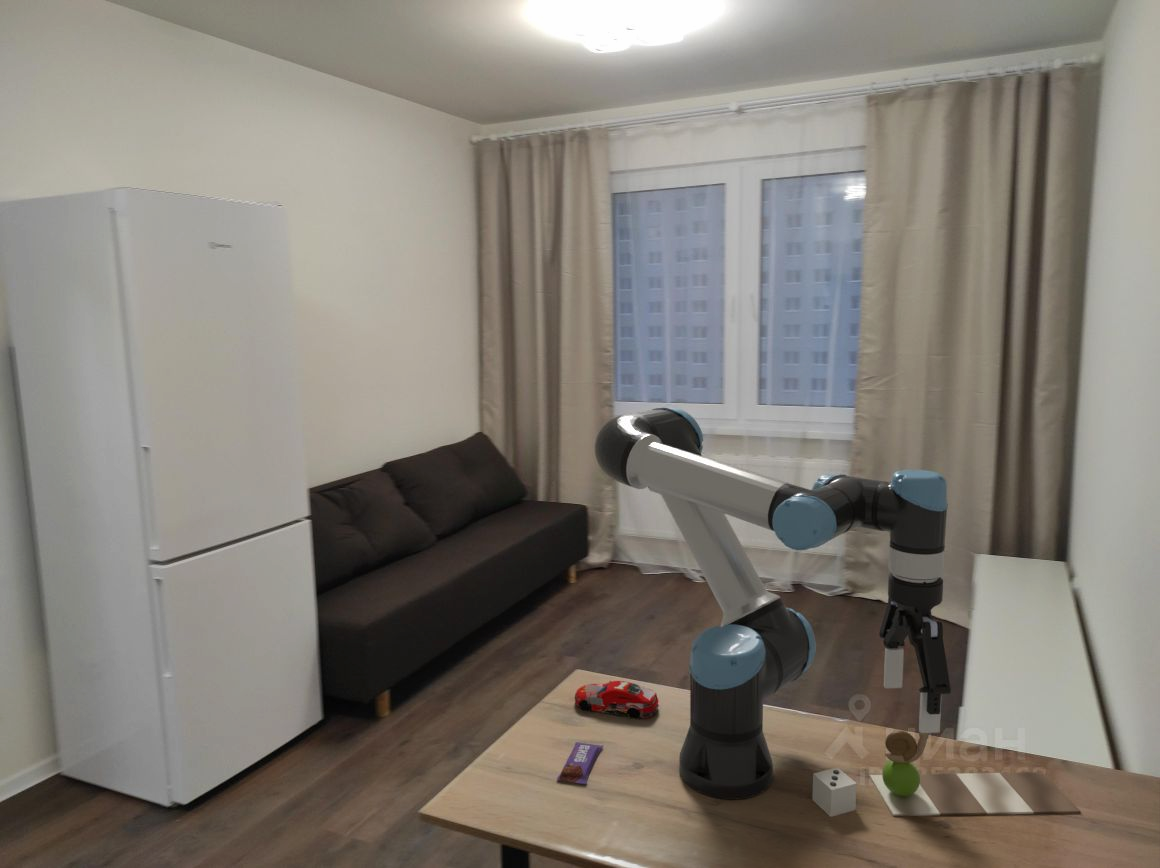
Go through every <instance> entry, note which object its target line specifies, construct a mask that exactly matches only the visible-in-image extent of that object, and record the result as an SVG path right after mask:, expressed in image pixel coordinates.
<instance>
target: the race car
mask: <svg viewBox="0 0 1160 868" xmlns="http://www.w3.org/2000/svg"><path fill="white" fill-rule="evenodd" d="M574 702H575V705H576V706H577V707H578V708H580V710H581V711H583V712H590V711H592V712H599V713H604V714H612V715H618V716H622V717H627V716H628V717H629V718H630V719H635V720H638V719H639V718H640V719H645V718H650V717H653V716H654V715H655V714H656V713H657V710H658V709H659V708H658V707H660V705H659V698H658V696H657V692H656V691H655V690H653V689H650V688H647V687H645V686H644V685H640V684H637V683H633V682H629V681H624V680H613V681H612V680H609V681H608V682H606V683H590V684H588V683H587V684H585V685H583V686H580V687H579V688H578V689H577V690H576V692H575V695H574Z"/></svg>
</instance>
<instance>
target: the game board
mask: <svg viewBox="0 0 1160 868" xmlns="http://www.w3.org/2000/svg"><path fill="white" fill-rule="evenodd" d="M919 776H920V784H919V787H918V789H917V790H916V792H915V793H913V794H912V795H909V796H898V795H896V794H894V793H892V792H891V791H890V790H889V789H888V788H887V787H886V785H885V784H884V781H883V777H882V774H869V779H870V780H871V782H872V784H873V785H874V787H875V788H876V790H877V791H878V793H879V795H880V796H881V798H882V799H883V802H884V803H885V805H886V807H887V808H888V809H889V811H890V813H891V814H892V816H893V817H912V816H913V817H914V816H916V817H919V816H969V815H975V816H977V815H1018V814H1019V815H1024V814H1025V815H1028V814H1029V815H1030V814H1031V815H1033V814H1035V815H1036V814H1041V815H1042V814H1043V815H1044V814H1080V813H1081V810H1080V809H1079V807H1077V805H1076V804H1075V803H1073V802H1072V800H1070V799H1069V798H1068V796H1066V794H1064V792H1062V790H1061V789H1059V788H1058V786H1057V785H1056V784H1055V783H1053V782H1054V781H1052V780H1051V779H1050V778H1049V777H1048V776H1047V775H1046V774H1045V773H1044V772H1043V771H1041V772H1039V771H1036V772H1033V771H1032V772H977V773H976V772H974V773H973V772H971V773H919Z"/></svg>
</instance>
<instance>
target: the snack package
mask: <svg viewBox="0 0 1160 868" xmlns="http://www.w3.org/2000/svg"><path fill="white" fill-rule="evenodd" d="M603 747H604V745H598V744H592V743H586V742H585V743H584V742H575V743H574V747H573V748H572V750H571V753H570V754H569V756H568V758H567V760H566V762H565V763H564V766H563V767H562V770H561V772H560V774H559V775H558V776H557V778H556V780H557V781H562V782H570V783H576V784H581V785H586V784H587V783H588V778H589V775H590V773H591V771H592V769H593V766H594V764H595V762H596V760H597V758H598V756H599V754H600V751H602V749H603Z"/></svg>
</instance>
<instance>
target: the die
mask: <svg viewBox="0 0 1160 868" xmlns="http://www.w3.org/2000/svg"><path fill="white" fill-rule="evenodd" d="M812 776H813V777H812V797H811V800H812V801H813V802H814V803H816V805H818V807H820V809H822V810H823V811H824V812H825V813H826V814H827V815H828V816H829V817H830V818H833V817H835V816H838V815H843V814H846V813H849V812H854V811H856V808H857V807H856V804H857V803H856V802H857V782H856V781H854V779H852V778H851V777H850V776H849V775H848V774H846V773H845V772H844V771H842V770H841V769H840V768H839V767H834V768H830V769H829V768H828V769H826V770H822V771H818V772H814V773H813V774H812Z"/></svg>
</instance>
